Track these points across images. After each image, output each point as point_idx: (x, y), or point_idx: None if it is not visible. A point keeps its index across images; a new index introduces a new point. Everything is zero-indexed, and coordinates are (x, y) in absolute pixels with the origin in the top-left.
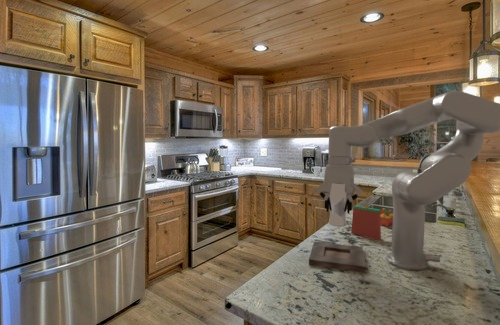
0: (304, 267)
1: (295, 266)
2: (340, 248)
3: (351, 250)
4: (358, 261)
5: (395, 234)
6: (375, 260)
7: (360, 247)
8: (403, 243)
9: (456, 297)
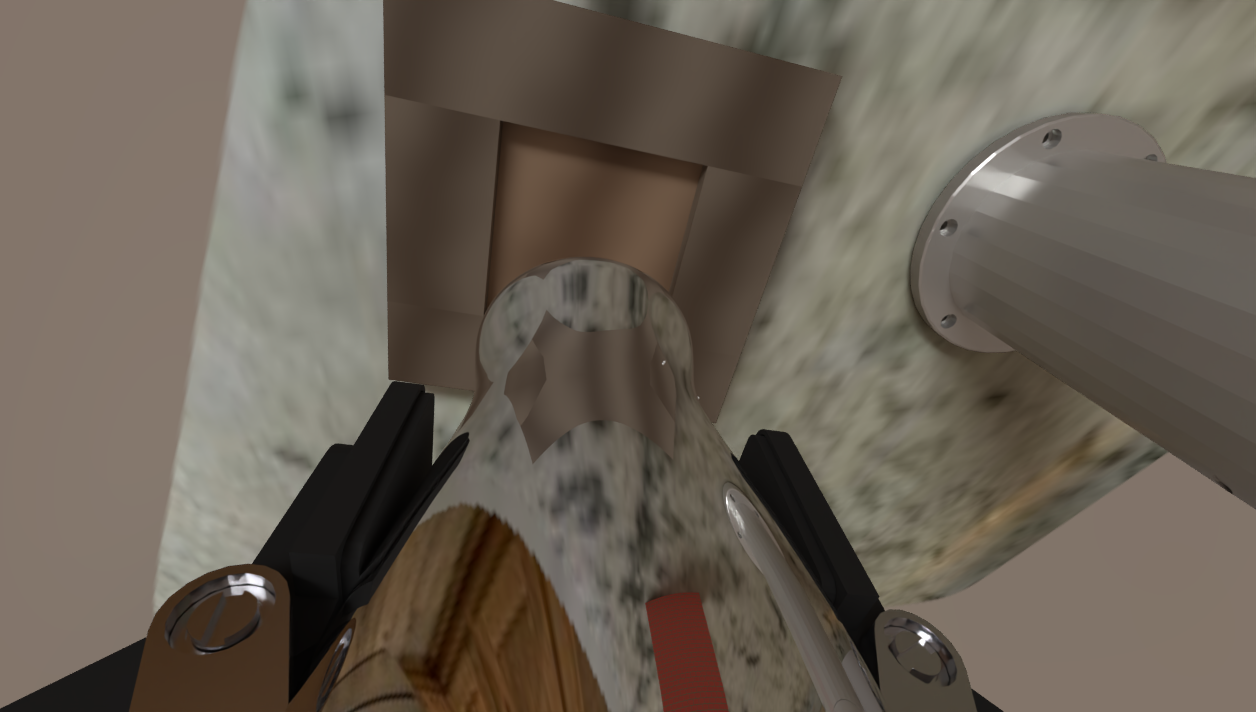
0: (379, 390)
1: (324, 386)
2: (634, 145)
3: (714, 181)
4: (697, 366)
5: (1098, 360)
6: (842, 234)
7: (819, 93)
8: (1065, 381)
9: (957, 520)
